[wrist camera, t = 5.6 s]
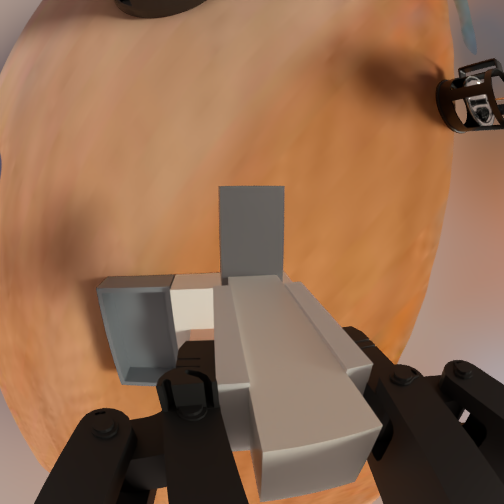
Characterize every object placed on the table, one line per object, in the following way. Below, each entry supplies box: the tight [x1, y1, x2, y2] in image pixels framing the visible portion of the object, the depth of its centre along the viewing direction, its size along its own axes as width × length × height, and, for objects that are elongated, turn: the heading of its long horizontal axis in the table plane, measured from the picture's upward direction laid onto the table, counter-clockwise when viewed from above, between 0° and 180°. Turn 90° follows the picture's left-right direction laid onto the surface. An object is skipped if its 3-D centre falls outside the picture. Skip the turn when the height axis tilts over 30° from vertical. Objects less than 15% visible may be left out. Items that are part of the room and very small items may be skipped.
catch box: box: [96, 275, 178, 386], centre depth 32 cm, size 14×9×4 cm, turn 1°
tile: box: [190, 328, 214, 341], centre depth 29 cm, size 4×4×2 cm
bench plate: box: [170, 270, 292, 350], centre depth 33 cm, size 14×13×5 cm
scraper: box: [219, 186, 383, 502], centre depth 11 cm, size 11×3×13 cm, turn 1°
